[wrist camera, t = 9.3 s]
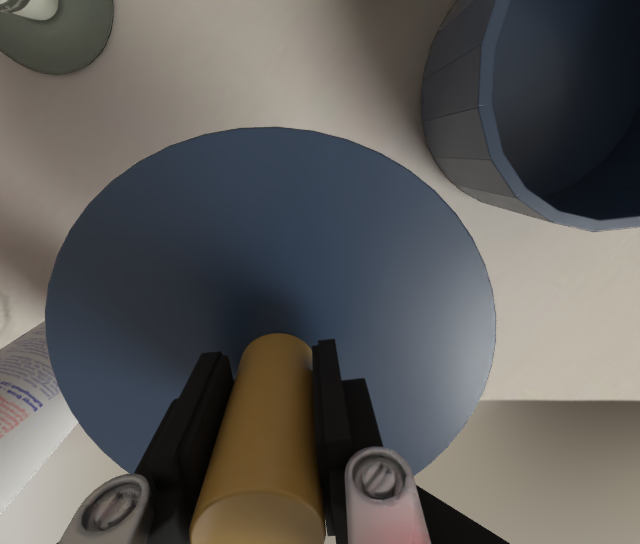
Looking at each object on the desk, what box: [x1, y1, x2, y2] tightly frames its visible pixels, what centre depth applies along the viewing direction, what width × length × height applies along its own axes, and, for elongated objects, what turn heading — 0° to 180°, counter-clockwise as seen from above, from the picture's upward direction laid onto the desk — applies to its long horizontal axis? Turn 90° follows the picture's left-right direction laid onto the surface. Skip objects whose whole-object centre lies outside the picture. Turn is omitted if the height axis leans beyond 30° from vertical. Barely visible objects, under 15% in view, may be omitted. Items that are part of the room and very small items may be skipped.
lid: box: [45, 127, 496, 544], centre depth 10 cm, size 15×15×7 cm
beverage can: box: [0, 321, 78, 515], centre depth 18 cm, size 5×5×15 cm
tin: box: [421, 0, 640, 232], centre depth 17 cm, size 14×14×8 cm
